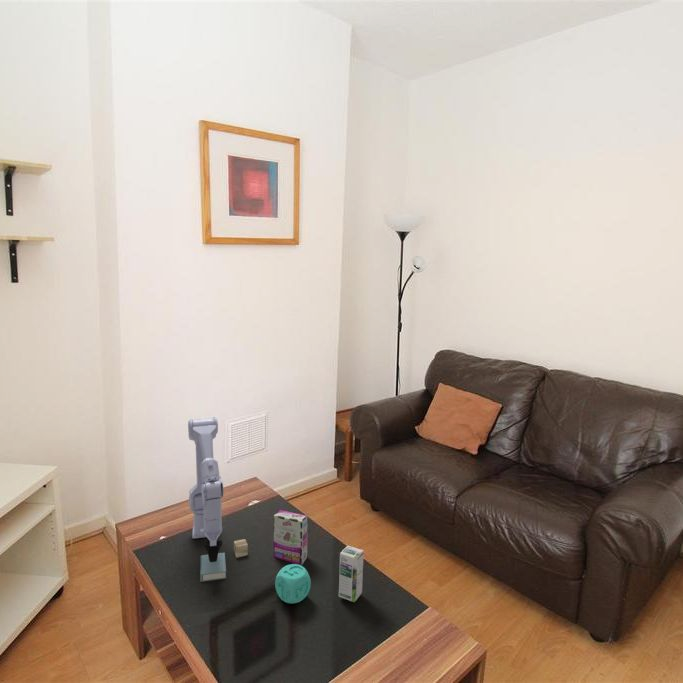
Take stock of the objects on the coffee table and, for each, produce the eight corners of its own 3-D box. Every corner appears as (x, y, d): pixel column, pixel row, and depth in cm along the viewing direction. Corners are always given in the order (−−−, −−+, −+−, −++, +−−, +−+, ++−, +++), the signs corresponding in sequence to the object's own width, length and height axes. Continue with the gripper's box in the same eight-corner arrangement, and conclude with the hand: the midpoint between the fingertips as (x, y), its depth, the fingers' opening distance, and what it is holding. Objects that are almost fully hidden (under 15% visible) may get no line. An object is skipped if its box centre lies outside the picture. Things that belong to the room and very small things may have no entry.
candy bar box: (307, 559, 169) (308, 515, 167) (301, 567, 164) (302, 521, 162) (279, 552, 173) (280, 508, 171) (272, 559, 168) (272, 515, 166)
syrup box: (337, 597, 149) (339, 553, 148) (346, 586, 155) (347, 544, 153) (354, 603, 147) (355, 558, 145) (362, 592, 152) (364, 549, 150)
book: (200, 562, 166) (200, 555, 165) (224, 559, 168) (224, 552, 168) (200, 582, 155) (200, 574, 155) (226, 578, 157) (226, 570, 157)
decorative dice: (274, 594, 150) (274, 570, 149) (294, 583, 155) (294, 560, 154) (290, 607, 144) (291, 582, 143) (311, 595, 150) (311, 571, 149)
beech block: (233, 554, 171) (233, 541, 170) (245, 552, 172) (245, 539, 172) (236, 560, 167) (236, 547, 167) (247, 558, 169) (247, 544, 168)
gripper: (200, 507, 165) (200, 544, 167) (199, 528, 151) (200, 569, 153) (221, 505, 167) (221, 542, 169) (223, 526, 153) (223, 566, 155)
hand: (213, 554), depth 161 cm, fingers open, 7 cm apart
